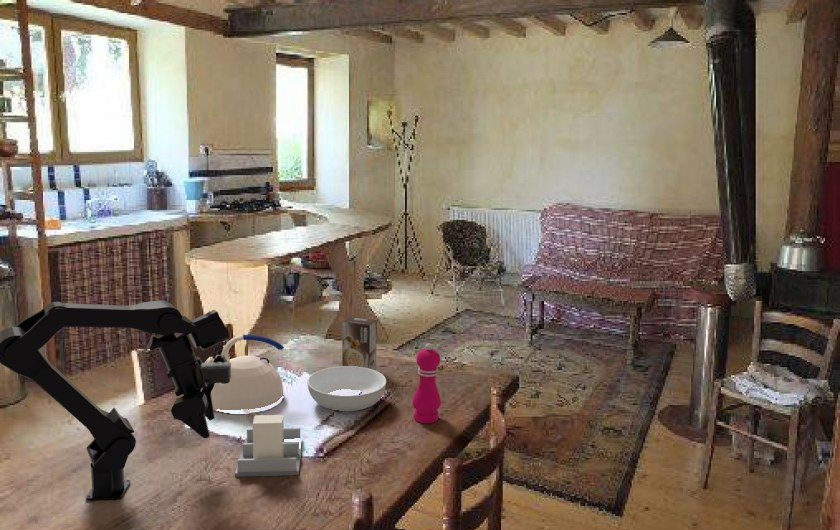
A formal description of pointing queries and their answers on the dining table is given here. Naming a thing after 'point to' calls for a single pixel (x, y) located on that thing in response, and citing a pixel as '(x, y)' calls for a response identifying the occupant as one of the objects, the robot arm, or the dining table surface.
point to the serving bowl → (346, 387)
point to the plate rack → (270, 465)
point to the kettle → (248, 380)
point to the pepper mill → (427, 386)
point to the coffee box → (359, 342)
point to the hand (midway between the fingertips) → (209, 428)
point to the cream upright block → (268, 436)
